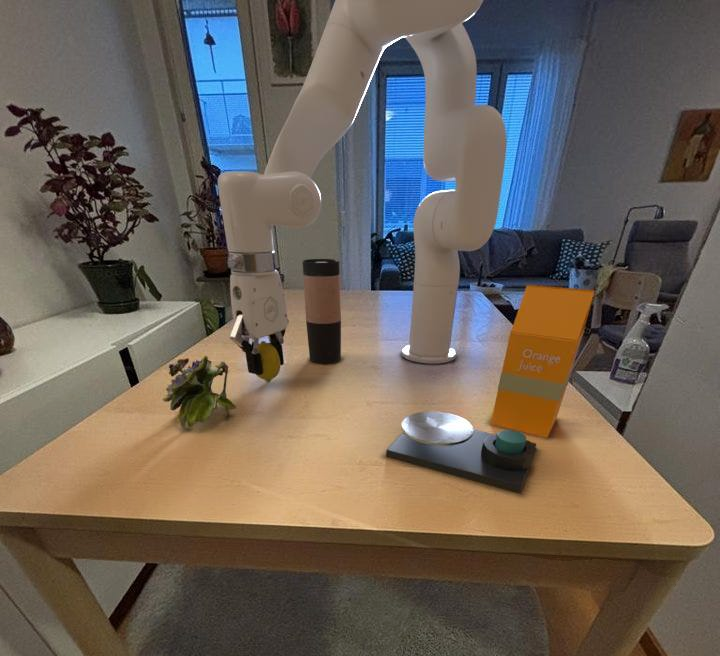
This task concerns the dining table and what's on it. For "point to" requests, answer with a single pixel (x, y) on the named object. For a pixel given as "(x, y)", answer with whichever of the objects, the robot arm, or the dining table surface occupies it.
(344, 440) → the dining table surface
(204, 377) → the purple flowering plant
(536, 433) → the orange juice
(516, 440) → the tare button
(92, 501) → the dining table surface
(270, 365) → the lemon
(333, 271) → the travel mug
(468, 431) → the scale pan
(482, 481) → the scale
